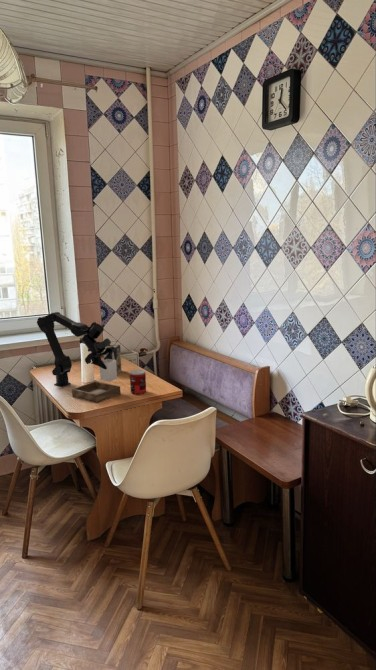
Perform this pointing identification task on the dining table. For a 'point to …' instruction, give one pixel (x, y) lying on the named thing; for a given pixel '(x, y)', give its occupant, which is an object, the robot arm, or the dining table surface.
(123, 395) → the dining table surface
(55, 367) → the robot arm
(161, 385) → the dining table surface
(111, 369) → the light grey block
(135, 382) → the canned food
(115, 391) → the walnut crate
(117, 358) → the coffee box
